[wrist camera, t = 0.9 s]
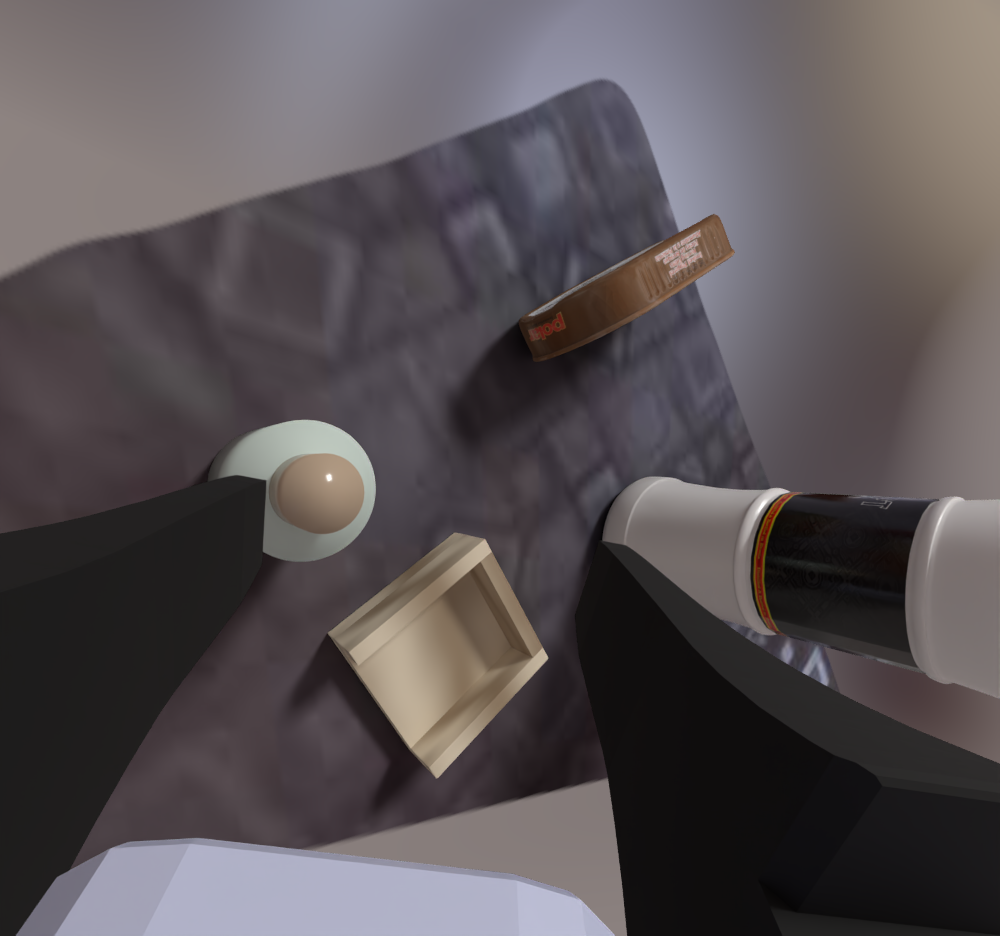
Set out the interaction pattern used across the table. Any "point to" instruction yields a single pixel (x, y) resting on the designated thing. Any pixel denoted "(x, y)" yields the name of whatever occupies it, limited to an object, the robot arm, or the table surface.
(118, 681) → the robot arm
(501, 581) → the wooden box
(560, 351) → the tin
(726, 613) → the vodka
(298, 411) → the table surface
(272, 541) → the bottle
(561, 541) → the table surface
